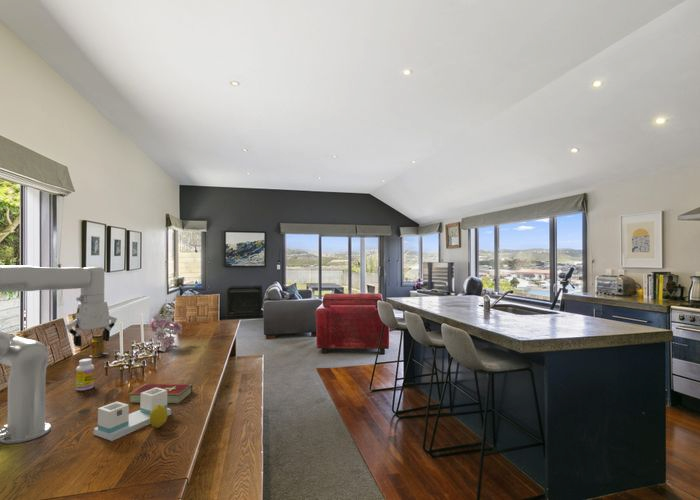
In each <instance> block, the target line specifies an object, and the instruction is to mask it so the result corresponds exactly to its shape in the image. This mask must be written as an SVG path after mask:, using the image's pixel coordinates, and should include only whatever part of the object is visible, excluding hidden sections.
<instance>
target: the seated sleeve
mask: <svg viewBox="0 0 700 500" xmlns="http://www.w3.org/2000/svg"><path fill="white" fill-rule="evenodd" d="M139 404H140V405H139V407H140V409H139V410H140V412H143V413H146V414H149V415H150V413H151V411H152V409H153V408H154V407H156V406H158V405H161V406H164V407H165V408H166V409H167V408H168V403H167V390H165V389H161V388H157V387H156V388H153V389H150V390H147V391H145V392H142V393H141V394H140V402H139Z"/></svg>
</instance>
